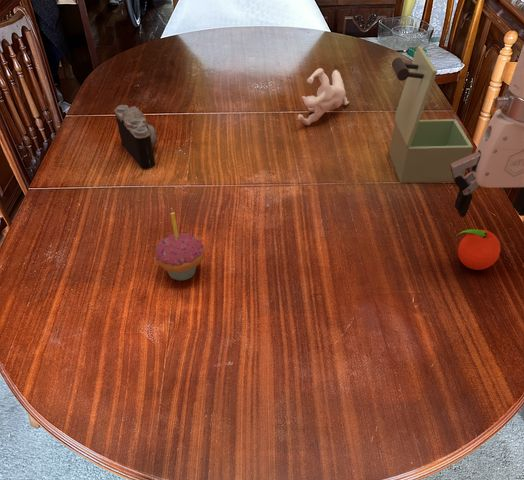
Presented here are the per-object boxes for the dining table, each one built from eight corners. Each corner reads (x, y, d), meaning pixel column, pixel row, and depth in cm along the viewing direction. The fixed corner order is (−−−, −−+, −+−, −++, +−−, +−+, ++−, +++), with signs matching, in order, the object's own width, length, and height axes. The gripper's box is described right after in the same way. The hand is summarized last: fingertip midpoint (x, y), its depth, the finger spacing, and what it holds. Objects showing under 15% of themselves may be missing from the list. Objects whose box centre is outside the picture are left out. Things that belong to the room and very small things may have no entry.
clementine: (441, 266, 92) (452, 234, 86) (455, 246, 95) (466, 214, 90) (485, 283, 89) (500, 250, 83) (497, 261, 92) (512, 229, 87)
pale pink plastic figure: (311, 54, 130) (309, 68, 116) (359, 68, 131) (363, 84, 117) (297, 107, 138) (294, 126, 124) (342, 120, 139) (344, 140, 125)
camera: (170, 163, 116) (163, 119, 108) (142, 171, 114) (133, 127, 106) (145, 136, 124) (137, 94, 117) (119, 143, 122) (109, 101, 114)
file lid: (421, 46, 101) (392, 42, 100) (437, 71, 93) (406, 67, 92) (397, 118, 112) (371, 115, 111) (410, 146, 104) (382, 143, 103)
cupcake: (155, 262, 93) (143, 205, 84) (200, 253, 94) (193, 196, 85) (164, 292, 87) (152, 235, 78) (211, 282, 89) (205, 225, 80)
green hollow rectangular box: (446, 152, 118) (456, 119, 112) (462, 181, 110) (473, 147, 104) (388, 153, 118) (395, 120, 112) (400, 182, 110) (407, 148, 104)
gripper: (478, 118, 68) (443, 226, 81) (605, 117, 68) (550, 224, 81) (462, 94, 73) (431, 199, 86) (580, 93, 73) (532, 198, 86)
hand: (489, 211), depth 83 cm, fingers open, 9 cm apart
